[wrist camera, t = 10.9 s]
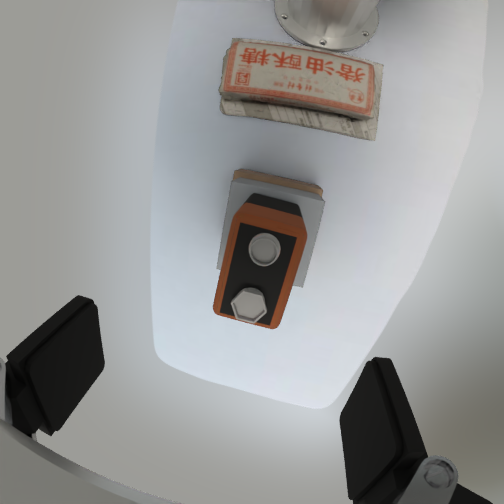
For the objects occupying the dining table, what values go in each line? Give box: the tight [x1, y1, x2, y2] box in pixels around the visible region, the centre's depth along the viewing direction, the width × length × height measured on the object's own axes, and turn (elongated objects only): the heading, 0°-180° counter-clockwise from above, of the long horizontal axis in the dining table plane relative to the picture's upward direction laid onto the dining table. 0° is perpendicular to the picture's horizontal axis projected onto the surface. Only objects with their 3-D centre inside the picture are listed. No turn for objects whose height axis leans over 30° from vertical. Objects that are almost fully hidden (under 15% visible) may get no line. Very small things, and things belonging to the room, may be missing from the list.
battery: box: [213, 193, 307, 329], centre depth 21 cm, size 4×7×10 cm, turn 166°
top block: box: [217, 177, 325, 287], centre depth 28 cm, size 8×8×5 cm
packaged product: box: [219, 38, 383, 141], centre depth 28 cm, size 18×5×10 cm
